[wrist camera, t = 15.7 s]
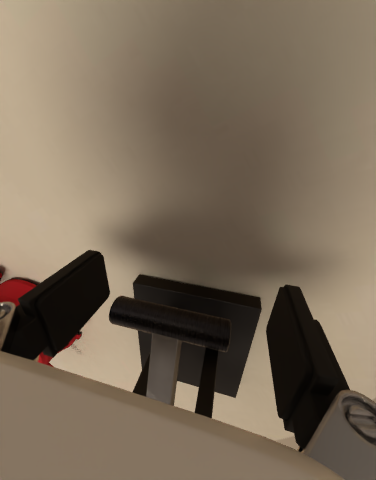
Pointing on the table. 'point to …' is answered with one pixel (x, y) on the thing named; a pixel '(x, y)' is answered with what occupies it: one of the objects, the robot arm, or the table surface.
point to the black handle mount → (197, 357)
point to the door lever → (169, 338)
